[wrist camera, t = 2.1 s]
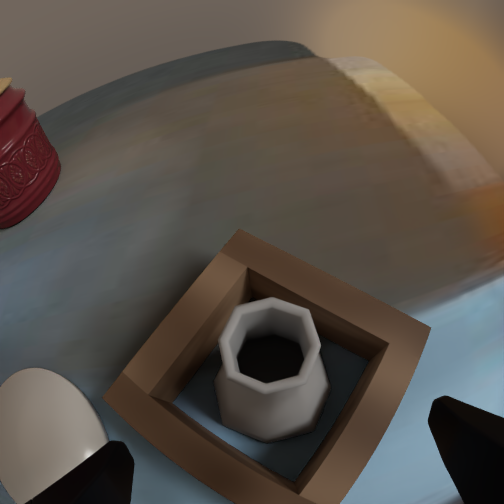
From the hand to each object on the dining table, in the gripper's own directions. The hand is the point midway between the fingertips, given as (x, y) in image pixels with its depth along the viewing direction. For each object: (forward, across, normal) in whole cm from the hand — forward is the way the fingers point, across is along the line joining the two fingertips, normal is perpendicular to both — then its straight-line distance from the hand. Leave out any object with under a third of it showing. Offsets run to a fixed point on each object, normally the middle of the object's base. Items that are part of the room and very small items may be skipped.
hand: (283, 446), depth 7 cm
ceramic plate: (+6, +17, +9) cm, 20 cm away
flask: (+10, 0, +5) cm, 11 cm away
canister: (+27, +28, -11) cm, 41 cm away
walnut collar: (+10, 0, +5) cm, 11 cm away
